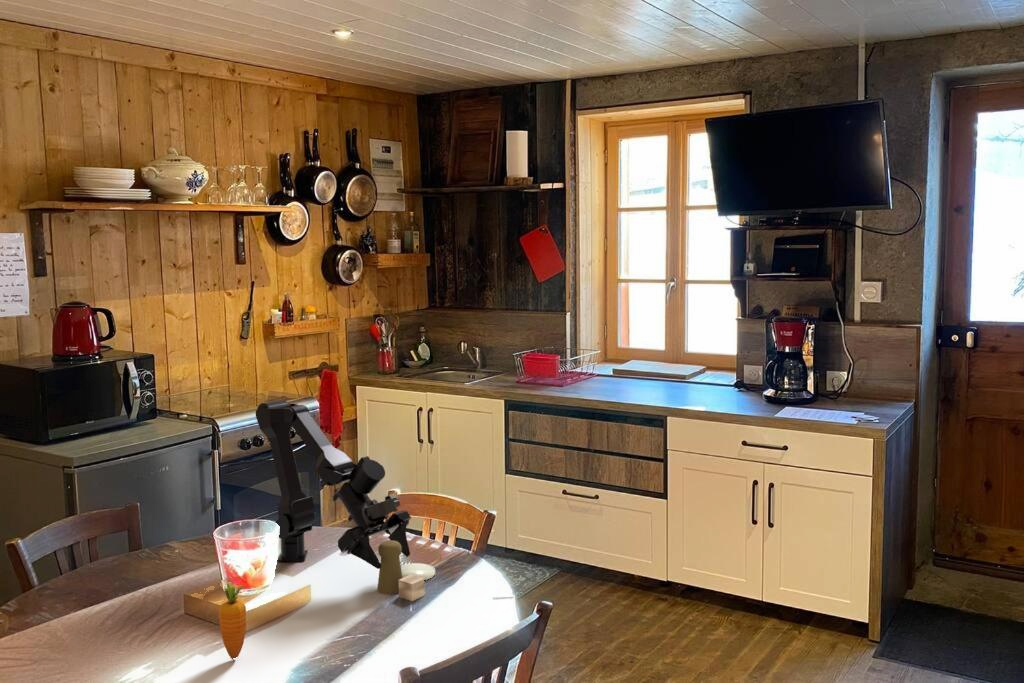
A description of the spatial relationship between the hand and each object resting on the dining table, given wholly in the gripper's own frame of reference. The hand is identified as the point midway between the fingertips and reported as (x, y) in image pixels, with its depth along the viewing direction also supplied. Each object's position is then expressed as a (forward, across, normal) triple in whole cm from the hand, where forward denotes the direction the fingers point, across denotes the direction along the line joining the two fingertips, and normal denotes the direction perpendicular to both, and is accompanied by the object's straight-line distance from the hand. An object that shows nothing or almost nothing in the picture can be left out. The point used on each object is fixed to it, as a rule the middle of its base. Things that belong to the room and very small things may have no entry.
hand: (394, 561), depth 201 cm
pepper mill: (+4, 0, +6) cm, 7 cm away
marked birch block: (+8, 0, +1) cm, 9 cm away
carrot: (+4, -42, +6) cm, 43 cm away
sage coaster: (+2, +10, +7) cm, 12 cm away
